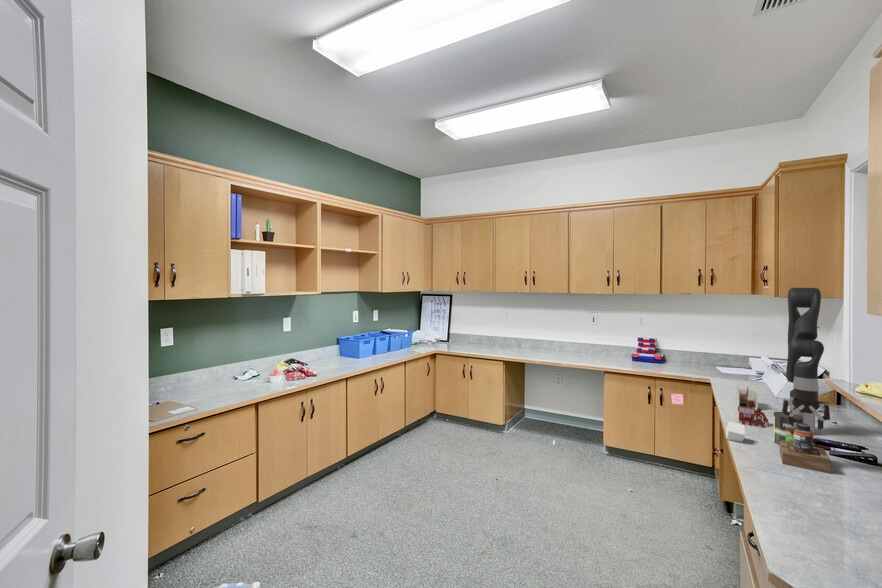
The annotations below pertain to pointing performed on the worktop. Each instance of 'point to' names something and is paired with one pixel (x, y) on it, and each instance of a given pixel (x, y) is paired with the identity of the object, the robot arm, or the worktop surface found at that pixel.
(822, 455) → the walnut block
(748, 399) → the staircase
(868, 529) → the worktop surface
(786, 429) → the coffee can
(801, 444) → the supplement bottle
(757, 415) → the toy fire truck
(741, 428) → the white cube
